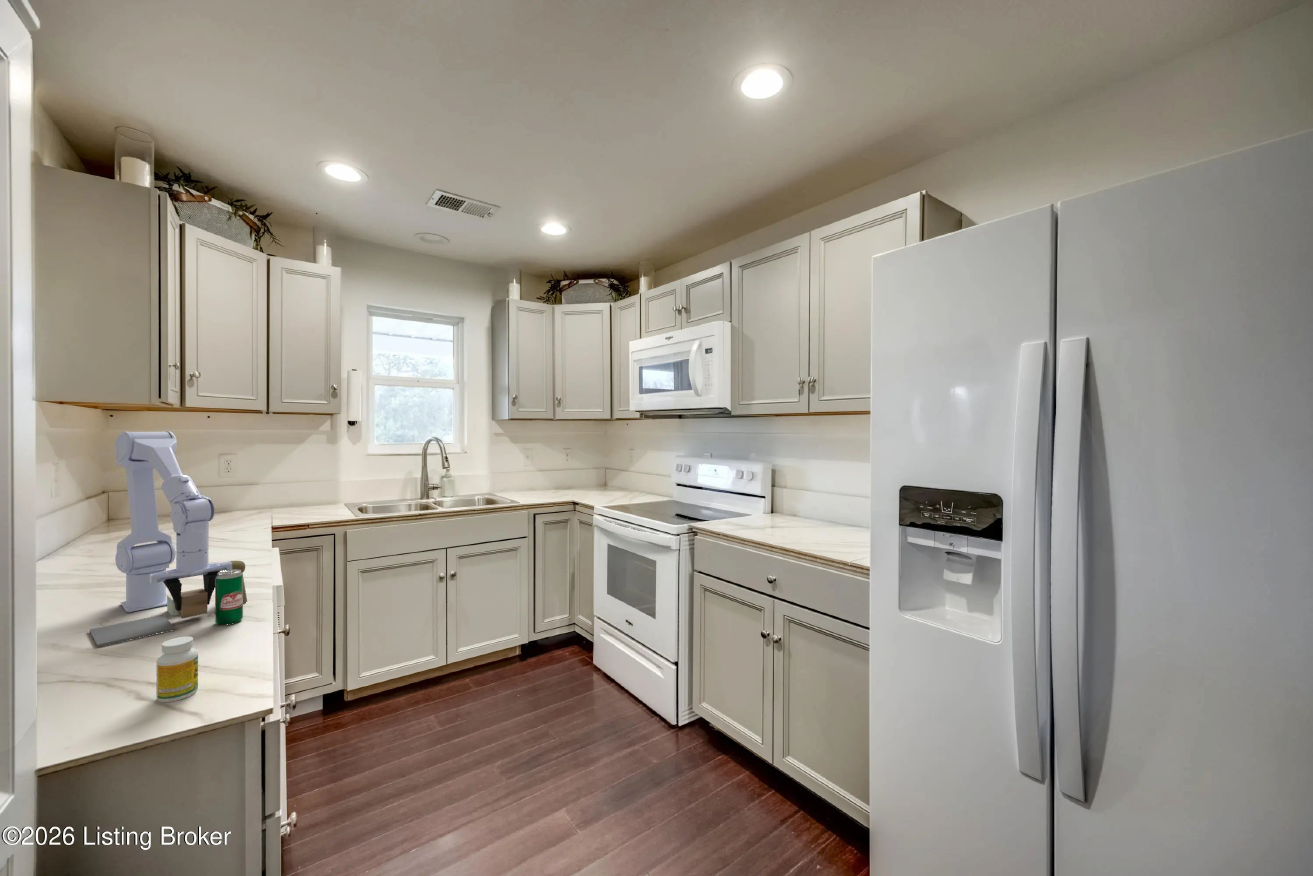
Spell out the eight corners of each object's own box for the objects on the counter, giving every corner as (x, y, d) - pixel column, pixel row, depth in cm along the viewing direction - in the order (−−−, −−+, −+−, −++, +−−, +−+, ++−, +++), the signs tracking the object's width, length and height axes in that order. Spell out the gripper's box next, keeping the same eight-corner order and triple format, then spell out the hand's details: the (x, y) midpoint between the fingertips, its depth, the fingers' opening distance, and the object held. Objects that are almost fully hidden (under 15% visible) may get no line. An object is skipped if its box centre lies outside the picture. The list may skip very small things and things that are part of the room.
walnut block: (177, 613, 123) (177, 592, 123) (202, 608, 127) (202, 588, 127) (182, 618, 120) (182, 597, 120) (207, 613, 124) (207, 592, 124)
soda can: (220, 628, 119) (220, 576, 119) (211, 622, 122) (211, 572, 122) (246, 621, 124) (246, 571, 123) (237, 616, 126) (237, 567, 126)
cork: (230, 609, 131) (230, 565, 131) (210, 606, 132) (210, 563, 132) (253, 601, 137) (253, 559, 136) (234, 598, 138) (234, 557, 138)
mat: (89, 632, 115) (89, 629, 115) (163, 616, 125) (163, 614, 125) (97, 647, 108) (97, 644, 108) (175, 630, 117) (175, 627, 117)
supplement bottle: (153, 695, 90) (153, 641, 90) (194, 684, 95) (194, 632, 94) (159, 707, 87) (159, 650, 87) (201, 694, 91) (201, 640, 91)
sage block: (167, 611, 129) (167, 595, 128) (193, 606, 133) (193, 590, 132) (172, 616, 126) (172, 600, 125) (199, 610, 130) (199, 594, 130)
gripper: (154, 558, 115) (154, 619, 115) (236, 547, 126) (235, 602, 127) (147, 553, 119) (147, 611, 120) (227, 542, 131) (227, 596, 131)
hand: (192, 606), depth 124 cm, fingers closed on walnut block, 4 cm apart
